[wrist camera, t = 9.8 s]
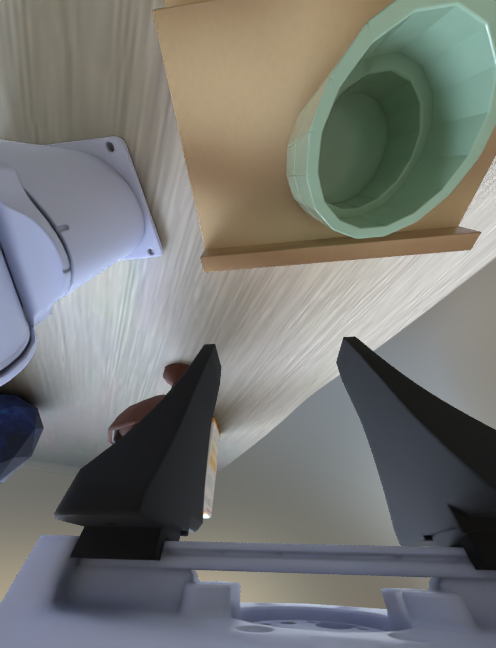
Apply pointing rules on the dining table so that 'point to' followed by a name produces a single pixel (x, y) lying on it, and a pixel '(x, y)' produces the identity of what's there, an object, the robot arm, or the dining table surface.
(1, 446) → the decorative orb
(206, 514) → the supplement box
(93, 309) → the dining table surface
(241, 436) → the dining table surface
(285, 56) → the shelf
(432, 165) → the green cup
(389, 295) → the dining table surface
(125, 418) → the ice cream bowl
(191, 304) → the dining table surface
